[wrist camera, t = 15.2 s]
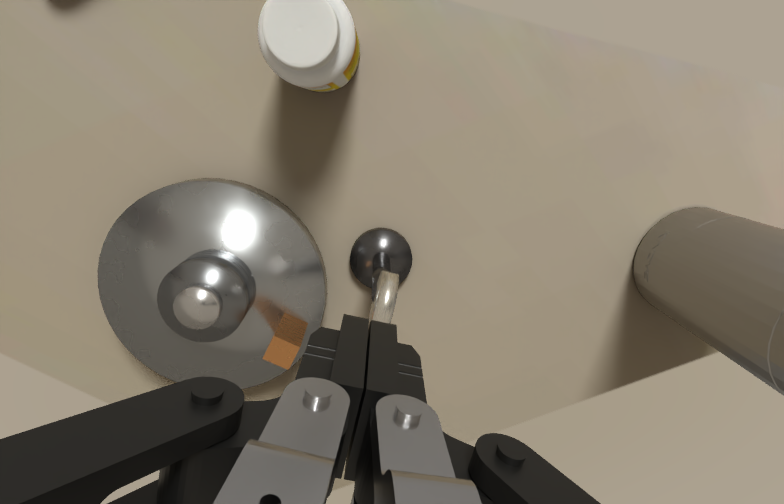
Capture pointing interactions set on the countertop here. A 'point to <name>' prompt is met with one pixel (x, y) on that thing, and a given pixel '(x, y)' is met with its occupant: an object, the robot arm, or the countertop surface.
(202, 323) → the cover
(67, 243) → the countertop surface
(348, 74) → the supplement bottle
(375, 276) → the dial stand
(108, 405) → the robot arm
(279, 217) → the turntable
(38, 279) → the countertop surface
